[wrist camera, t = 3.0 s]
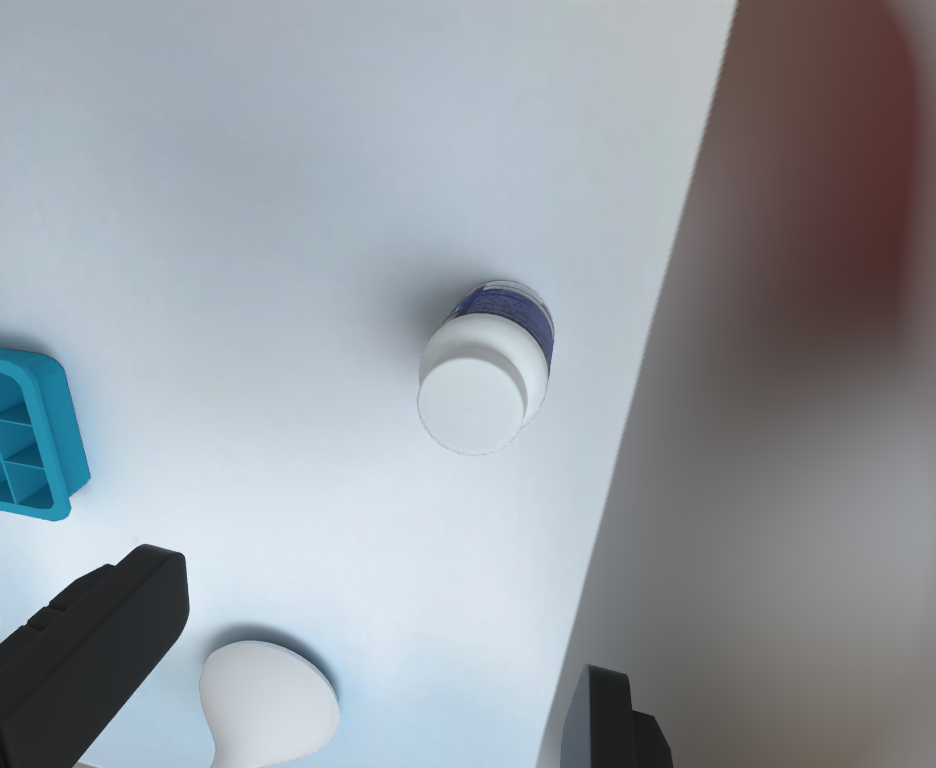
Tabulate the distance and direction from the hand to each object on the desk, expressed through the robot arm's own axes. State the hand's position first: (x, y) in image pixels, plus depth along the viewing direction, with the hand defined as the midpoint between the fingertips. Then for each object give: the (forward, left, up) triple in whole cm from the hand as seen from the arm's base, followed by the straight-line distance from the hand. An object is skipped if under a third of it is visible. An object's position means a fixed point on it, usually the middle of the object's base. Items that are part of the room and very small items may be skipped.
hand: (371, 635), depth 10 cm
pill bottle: (0, 0, -20) cm, 20 cm away
